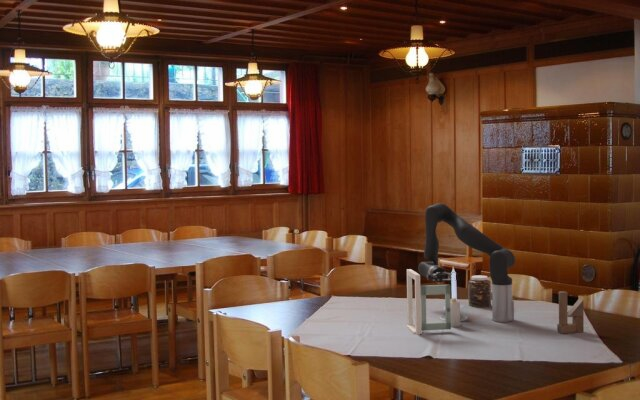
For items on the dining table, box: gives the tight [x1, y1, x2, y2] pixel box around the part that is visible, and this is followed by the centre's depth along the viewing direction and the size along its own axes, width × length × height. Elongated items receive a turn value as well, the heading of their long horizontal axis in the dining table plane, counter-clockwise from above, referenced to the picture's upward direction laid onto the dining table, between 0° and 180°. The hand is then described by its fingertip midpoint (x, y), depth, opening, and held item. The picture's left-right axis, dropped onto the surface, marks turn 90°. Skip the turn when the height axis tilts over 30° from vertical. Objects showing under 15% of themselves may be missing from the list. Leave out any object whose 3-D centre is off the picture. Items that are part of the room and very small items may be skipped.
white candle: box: [450, 297, 461, 328], centre depth 359 cm, size 5×5×13 cm
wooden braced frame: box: [556, 290, 585, 335], centre depth 340 cm, size 4×11×18 cm, turn 102°
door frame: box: [406, 268, 423, 336], centre depth 352 cm, size 4×18×26 cm, turn 6°
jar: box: [467, 274, 492, 308], centre depth 405 cm, size 12×12×15 cm
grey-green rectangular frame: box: [420, 284, 451, 332], centre depth 346 cm, size 13×3×20 cm, turn 96°
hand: (445, 279), depth 371 cm, fingers open, 8 cm apart
